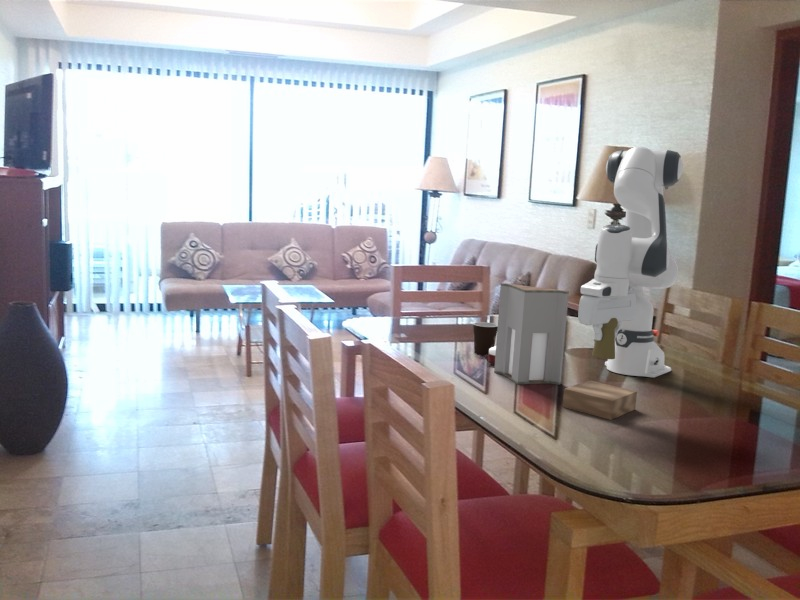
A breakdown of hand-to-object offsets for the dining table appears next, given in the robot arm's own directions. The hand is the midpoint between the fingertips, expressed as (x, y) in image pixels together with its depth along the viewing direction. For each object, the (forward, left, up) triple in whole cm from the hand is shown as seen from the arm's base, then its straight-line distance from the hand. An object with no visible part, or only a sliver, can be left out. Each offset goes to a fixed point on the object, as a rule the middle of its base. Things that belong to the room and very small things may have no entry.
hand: (605, 338), depth 201 cm
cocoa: (-10, -48, -19) cm, 53 cm away
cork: (0, 0, -5) cm, 5 cm away
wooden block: (0, 0, -19) cm, 19 cm away
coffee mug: (-19, -63, -19) cm, 69 cm away
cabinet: (-2, -30, -19) cm, 36 cm away
